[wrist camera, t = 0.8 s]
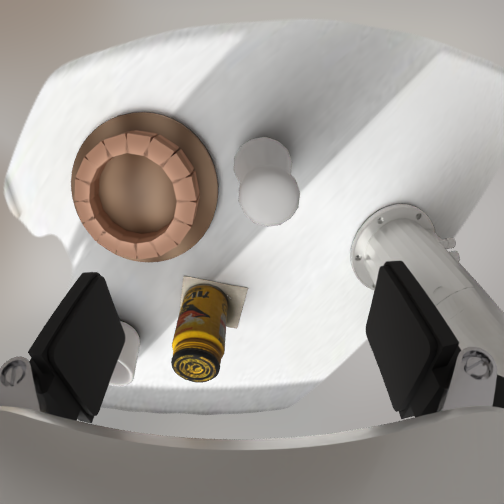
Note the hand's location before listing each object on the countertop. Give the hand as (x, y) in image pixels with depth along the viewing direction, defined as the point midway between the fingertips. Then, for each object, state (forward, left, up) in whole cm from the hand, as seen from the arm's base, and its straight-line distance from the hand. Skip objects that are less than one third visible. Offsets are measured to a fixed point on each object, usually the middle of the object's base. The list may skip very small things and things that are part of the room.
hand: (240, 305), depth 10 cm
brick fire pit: (+12, +2, -24) cm, 27 cm away
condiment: (+7, +19, -25) cm, 32 cm away
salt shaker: (-2, +1, -25) cm, 25 cm away
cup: (+23, +22, -25) cm, 40 cm away
